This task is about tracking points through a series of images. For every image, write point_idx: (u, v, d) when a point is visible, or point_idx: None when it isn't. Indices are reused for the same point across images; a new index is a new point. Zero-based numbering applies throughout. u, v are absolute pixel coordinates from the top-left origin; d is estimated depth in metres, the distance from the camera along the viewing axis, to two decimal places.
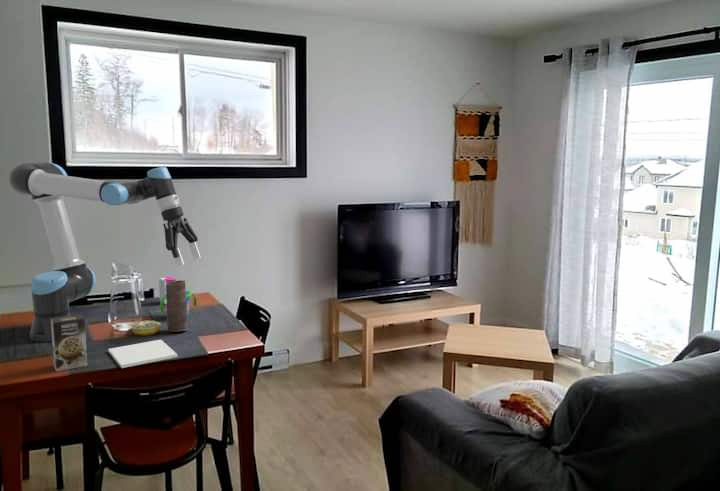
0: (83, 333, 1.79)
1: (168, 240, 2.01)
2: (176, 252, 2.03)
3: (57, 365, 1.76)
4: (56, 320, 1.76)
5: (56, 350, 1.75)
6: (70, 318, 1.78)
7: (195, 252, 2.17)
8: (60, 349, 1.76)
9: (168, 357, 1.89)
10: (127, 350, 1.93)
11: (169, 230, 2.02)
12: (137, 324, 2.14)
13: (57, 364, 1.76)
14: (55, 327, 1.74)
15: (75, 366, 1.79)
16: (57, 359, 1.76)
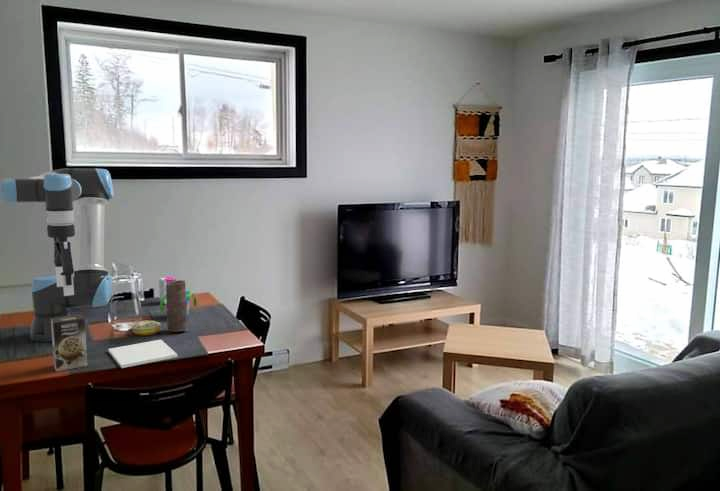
0: (83, 333, 1.79)
1: None
2: None
3: (57, 365, 1.76)
4: (56, 320, 1.76)
5: (56, 350, 1.75)
6: (70, 318, 1.78)
7: None
8: (60, 349, 1.76)
9: (168, 357, 1.89)
10: (127, 350, 1.93)
11: None
12: (137, 324, 2.14)
13: (57, 364, 1.76)
14: (55, 327, 1.74)
15: (75, 366, 1.79)
16: (57, 359, 1.76)
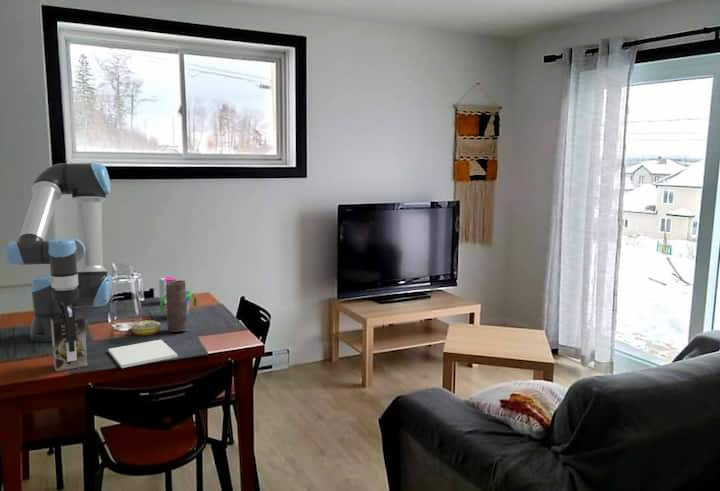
0: (83, 333, 1.79)
1: None
2: None
3: (57, 365, 1.76)
4: (56, 320, 1.76)
5: (56, 350, 1.75)
6: None
7: None
8: (60, 349, 1.76)
9: (168, 357, 1.89)
10: (127, 350, 1.93)
11: None
12: (137, 324, 2.14)
13: (57, 364, 1.76)
14: (55, 327, 1.74)
15: (75, 366, 1.79)
16: (57, 359, 1.76)
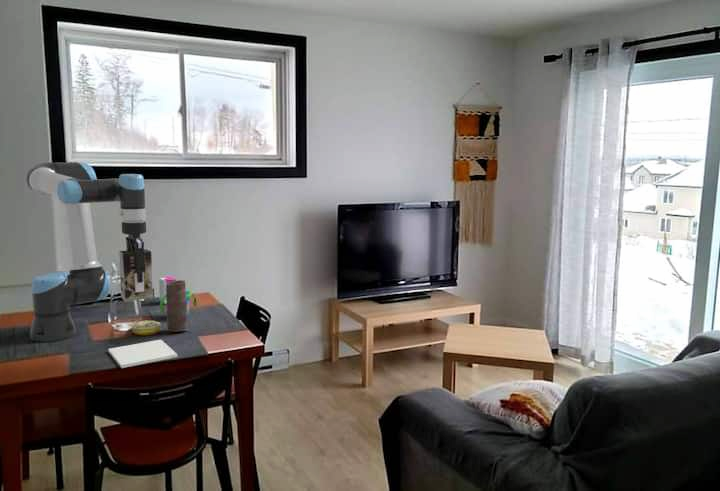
0: (150, 266, 1.86)
1: None
2: None
3: (126, 295, 1.83)
4: (125, 252, 1.83)
5: (125, 280, 1.83)
6: None
7: None
8: (129, 279, 1.83)
9: (168, 357, 1.89)
10: (127, 350, 1.93)
11: None
12: (137, 324, 2.14)
13: (126, 294, 1.83)
14: (125, 258, 1.81)
15: (142, 297, 1.86)
16: (126, 289, 1.83)
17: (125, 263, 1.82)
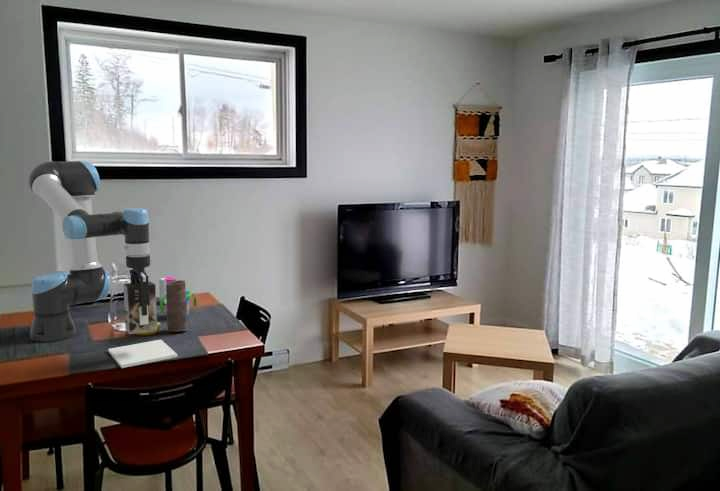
0: (154, 298, 1.89)
1: None
2: None
3: (130, 328, 1.86)
4: (130, 285, 1.86)
5: (130, 314, 1.85)
6: None
7: None
8: (134, 313, 1.86)
9: (168, 357, 1.89)
10: (127, 350, 1.93)
11: None
12: None
13: (130, 327, 1.86)
14: (129, 292, 1.84)
15: (146, 330, 1.89)
16: (131, 322, 1.86)
17: (130, 297, 1.84)
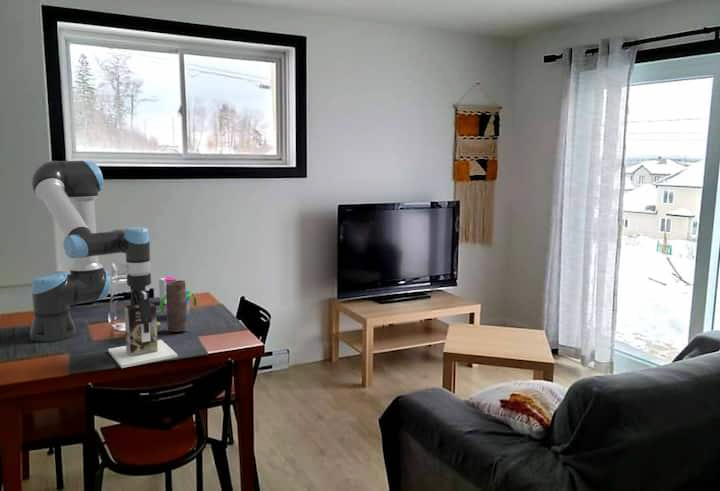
0: (154, 320, 1.91)
1: None
2: None
3: (131, 350, 1.87)
4: (130, 307, 1.87)
5: (131, 335, 1.87)
6: None
7: None
8: (134, 334, 1.87)
9: (168, 357, 1.89)
10: None
11: None
12: None
13: (131, 349, 1.87)
14: (130, 313, 1.86)
15: (147, 351, 1.90)
16: (131, 344, 1.87)
17: (130, 318, 1.86)
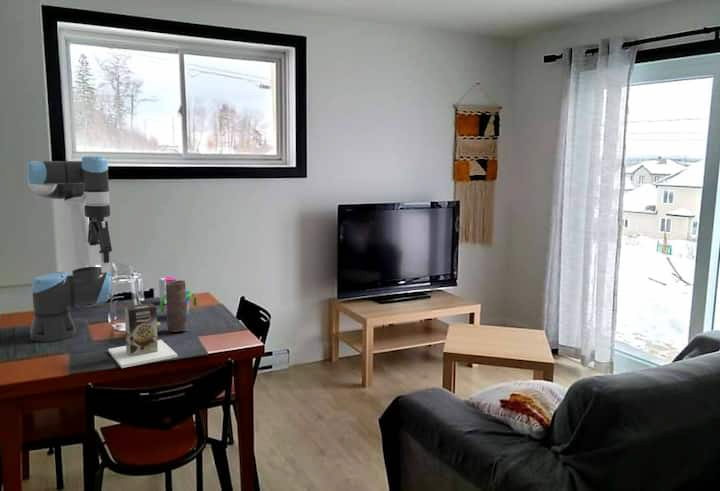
0: (155, 320, 1.90)
1: None
2: None
3: (131, 350, 1.87)
4: (131, 308, 1.87)
5: (131, 336, 1.86)
6: (143, 306, 1.89)
7: None
8: (135, 335, 1.87)
9: (168, 357, 1.89)
10: None
11: None
12: None
13: (131, 349, 1.87)
14: (130, 314, 1.85)
15: (147, 351, 1.90)
16: (131, 345, 1.87)
17: (131, 319, 1.85)
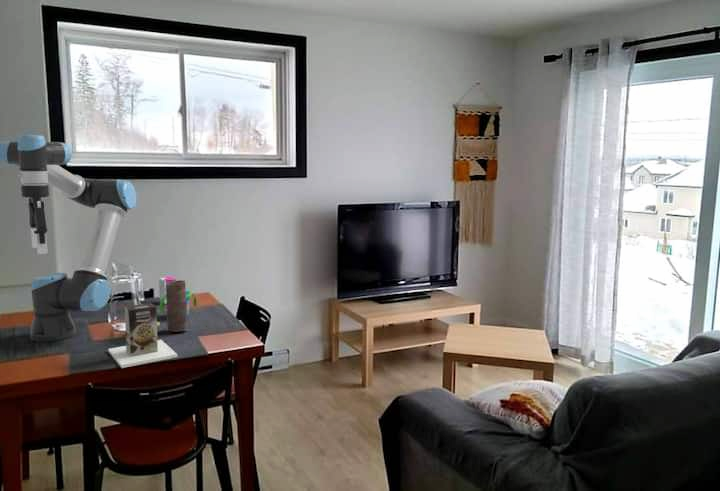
0: (155, 320, 1.90)
1: None
2: None
3: (131, 350, 1.87)
4: (131, 308, 1.87)
5: (131, 336, 1.86)
6: (143, 306, 1.89)
7: None
8: (135, 335, 1.87)
9: (168, 357, 1.89)
10: None
11: None
12: None
13: (131, 349, 1.87)
14: (130, 314, 1.85)
15: (147, 351, 1.90)
16: (131, 345, 1.87)
17: (131, 319, 1.85)
